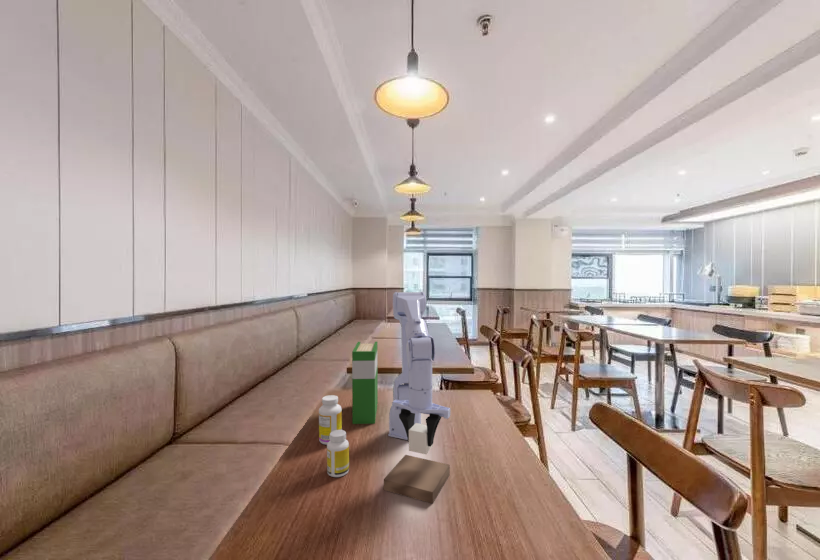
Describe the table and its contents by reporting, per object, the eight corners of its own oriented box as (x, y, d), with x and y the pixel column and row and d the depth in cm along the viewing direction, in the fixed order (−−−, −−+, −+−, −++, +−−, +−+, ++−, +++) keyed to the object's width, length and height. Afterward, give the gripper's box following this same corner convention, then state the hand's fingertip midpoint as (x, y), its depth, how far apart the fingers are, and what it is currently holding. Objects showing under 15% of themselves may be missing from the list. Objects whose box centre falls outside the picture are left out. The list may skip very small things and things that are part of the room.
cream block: (408, 450, 85) (408, 430, 85) (415, 442, 89) (415, 422, 89) (426, 454, 83) (426, 433, 83) (432, 446, 87) (432, 425, 87)
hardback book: (358, 404, 134) (357, 341, 134) (377, 404, 134) (377, 341, 134) (352, 424, 116) (352, 351, 116) (374, 423, 117) (374, 351, 116)
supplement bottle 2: (352, 468, 90) (352, 430, 90) (342, 479, 85) (341, 439, 85) (334, 464, 92) (334, 427, 91) (322, 475, 86) (322, 436, 86)
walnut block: (383, 489, 81) (383, 479, 81) (405, 464, 92) (405, 454, 92) (432, 503, 76) (432, 492, 76) (449, 474, 87) (449, 464, 87)
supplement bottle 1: (338, 433, 109) (338, 392, 109) (344, 442, 103) (344, 399, 103) (316, 438, 106) (316, 395, 106) (321, 447, 100) (321, 403, 100)
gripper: (386, 387, 85) (386, 444, 85) (443, 395, 79) (443, 456, 79) (398, 379, 91) (399, 432, 91) (452, 386, 85) (453, 442, 85)
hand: (420, 442), depth 86 cm, fingers closed on cream block, 4 cm apart
